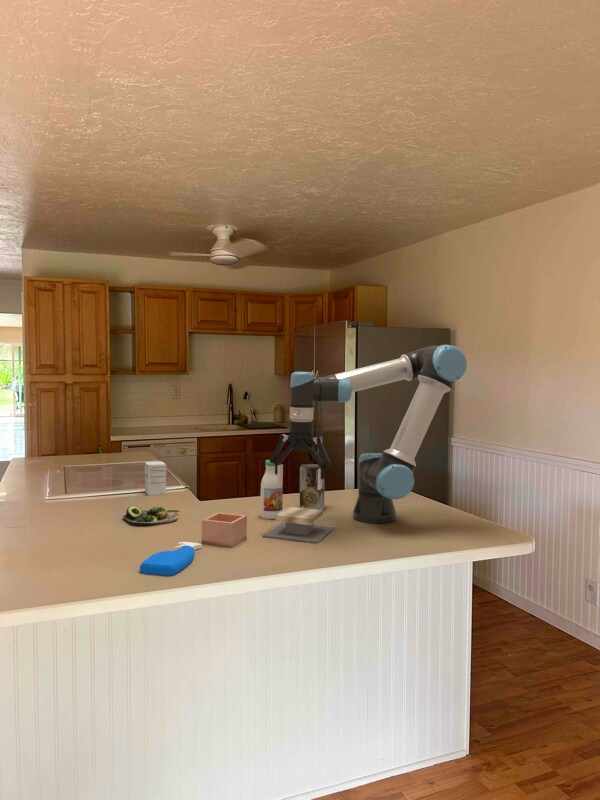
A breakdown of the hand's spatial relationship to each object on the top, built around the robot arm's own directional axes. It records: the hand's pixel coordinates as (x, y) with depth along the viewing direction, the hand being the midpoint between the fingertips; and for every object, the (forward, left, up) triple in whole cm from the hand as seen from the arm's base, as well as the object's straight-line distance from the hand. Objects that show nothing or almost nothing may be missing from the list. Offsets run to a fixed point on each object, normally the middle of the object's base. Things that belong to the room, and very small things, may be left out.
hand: (299, 487), depth 191 cm
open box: (+18, +17, -15) cm, 29 cm away
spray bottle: (+22, +38, -15) cm, 47 cm away
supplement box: (+74, -31, -15) cm, 81 cm away
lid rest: (0, 0, -15) cm, 15 cm away
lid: (0, 0, -10) cm, 10 cm away
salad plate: (+53, +5, -15) cm, 55 cm away
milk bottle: (+16, -15, -15) cm, 26 cm away
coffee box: (+7, -33, -15) cm, 37 cm away
